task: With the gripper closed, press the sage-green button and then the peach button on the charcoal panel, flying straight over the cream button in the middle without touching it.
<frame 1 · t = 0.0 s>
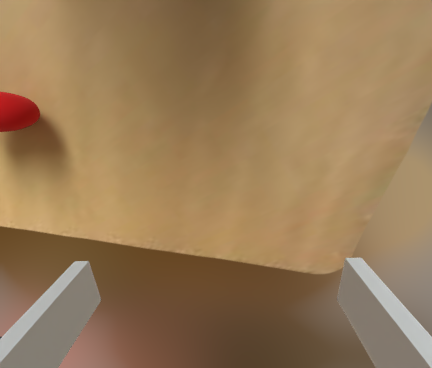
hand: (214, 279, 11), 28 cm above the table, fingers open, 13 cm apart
heart: (30, 111, 36), on the table
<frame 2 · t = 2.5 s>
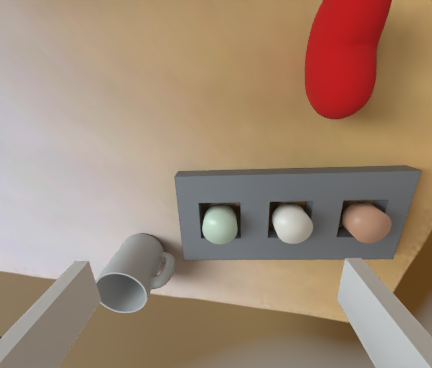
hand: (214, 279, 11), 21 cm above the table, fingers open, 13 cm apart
panel: (285, 211, 33), on the table
cream button: (291, 223, 30), point 3 cm above the table, slide at 0.0 cm
sage button: (220, 223, 30), point 3 cm above the table, slide at 0.0 cm
peach button: (364, 222, 29), point 3 cm above the table, slide at 0.0 cm
heart: (313, 65, 26), on the table
cup: (152, 249, 37), on the table
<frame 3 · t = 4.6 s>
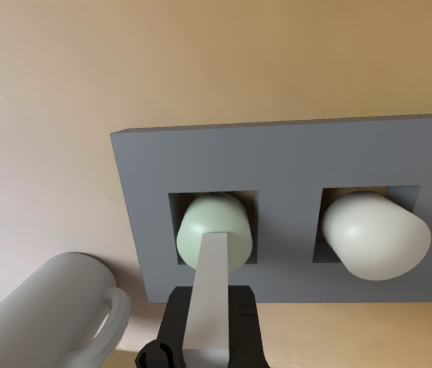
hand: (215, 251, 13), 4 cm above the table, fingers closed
panel: (342, 209, 17), on the table
cream button: (369, 233, 14), point 3 cm above the table, slide at 0.0 cm
sage button: (215, 231, 15), point 3 cm above the table, slide at 0.7 cm, touching gripper
cup: (97, 278, 21), on the table
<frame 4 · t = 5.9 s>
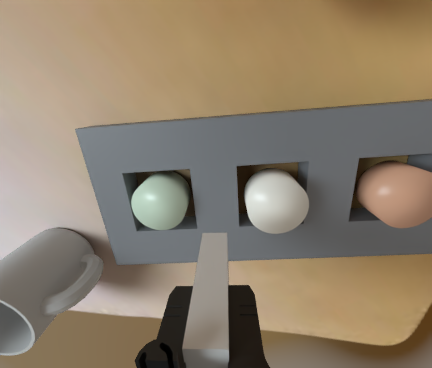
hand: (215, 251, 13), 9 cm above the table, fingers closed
panel: (266, 185, 21), on the table
cream button: (273, 199, 18), point 3 cm above the table, slide at 0.0 cm
sage button: (163, 199, 20), point 2 cm above the table, slide at 1.3 cm
peach button: (396, 193, 17), point 3 cm above the table, slide at 0.0 cm
cup: (79, 250, 25), on the table
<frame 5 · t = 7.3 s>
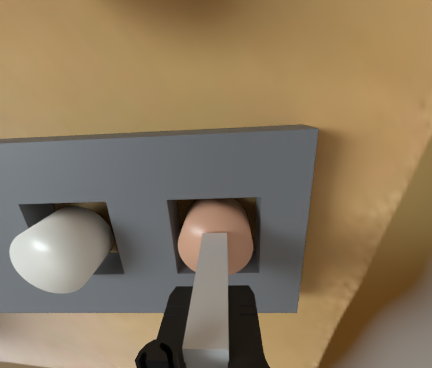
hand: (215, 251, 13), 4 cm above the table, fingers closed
panel: (94, 222, 17), on the table
cream button: (67, 248, 14), point 3 cm above the table, slide at 0.0 cm
peach button: (216, 234, 15), point 2 cm above the table, slide at 1.3 cm, touching gripper
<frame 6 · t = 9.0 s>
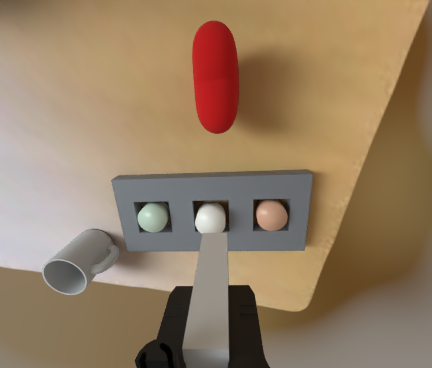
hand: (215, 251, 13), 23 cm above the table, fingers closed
panel: (212, 209, 38), on the table
cream button: (210, 218, 35), point 3 cm above the table, slide at 0.0 cm
sage button: (154, 215, 37), point 2 cm above the table, slide at 1.3 cm
peach button: (270, 213, 36), point 2 cm above the table, slide at 1.3 cm
heart: (218, 87, 31), on the table
cup: (104, 243, 42), on the table
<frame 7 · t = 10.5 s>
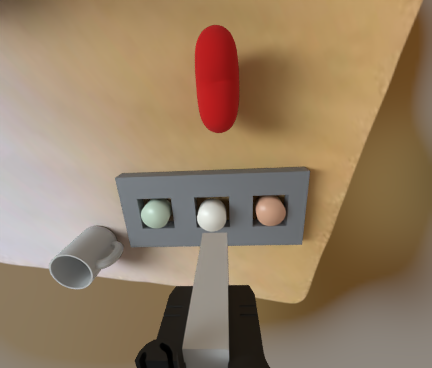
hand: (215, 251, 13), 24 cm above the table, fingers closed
panel: (213, 206, 39), on the table
cream button: (212, 214, 36), point 3 cm above the table, slide at 0.0 cm
sage button: (157, 212, 38), point 2 cm above the table, slide at 1.3 cm
peach button: (269, 209, 37), point 2 cm above the table, slide at 1.3 cm
heart: (219, 88, 32), on the table
cup: (107, 239, 43), on the table
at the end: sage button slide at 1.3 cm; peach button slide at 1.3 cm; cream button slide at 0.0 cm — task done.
